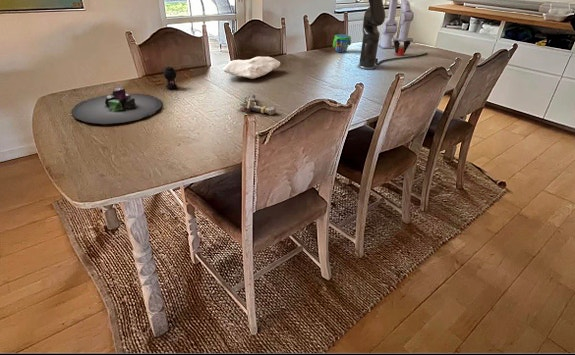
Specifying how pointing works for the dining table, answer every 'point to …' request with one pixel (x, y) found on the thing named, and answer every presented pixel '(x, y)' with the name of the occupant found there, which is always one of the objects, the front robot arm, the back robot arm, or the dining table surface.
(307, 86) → the dining table surface
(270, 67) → the crumpled cloth
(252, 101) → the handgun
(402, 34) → the back robot arm
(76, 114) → the dark grey serving platter
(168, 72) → the gumball machine
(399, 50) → the red cube
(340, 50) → the snack cup
